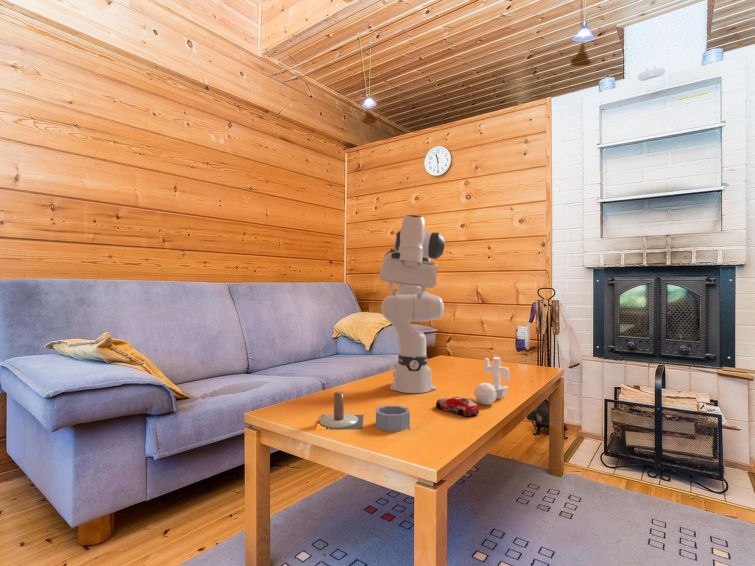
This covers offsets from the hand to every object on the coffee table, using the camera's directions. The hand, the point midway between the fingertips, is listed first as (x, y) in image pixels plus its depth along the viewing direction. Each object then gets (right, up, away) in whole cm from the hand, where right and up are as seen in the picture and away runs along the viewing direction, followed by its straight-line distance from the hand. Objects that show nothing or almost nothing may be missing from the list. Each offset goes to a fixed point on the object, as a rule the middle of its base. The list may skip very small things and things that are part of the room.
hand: (406, 296), depth 150 cm
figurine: (+36, -39, +14) cm, 54 cm away
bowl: (-6, -39, -21) cm, 44 cm away
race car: (+17, -39, -5) cm, 43 cm away
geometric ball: (+29, -39, +4) cm, 48 cm away
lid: (-22, -38, -18) cm, 47 cm away
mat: (-22, -39, -17) cm, 47 cm away
